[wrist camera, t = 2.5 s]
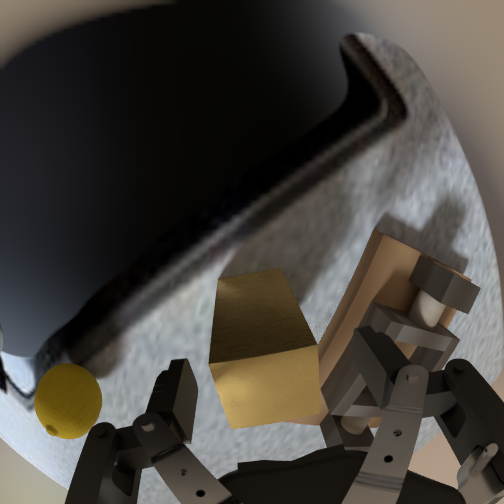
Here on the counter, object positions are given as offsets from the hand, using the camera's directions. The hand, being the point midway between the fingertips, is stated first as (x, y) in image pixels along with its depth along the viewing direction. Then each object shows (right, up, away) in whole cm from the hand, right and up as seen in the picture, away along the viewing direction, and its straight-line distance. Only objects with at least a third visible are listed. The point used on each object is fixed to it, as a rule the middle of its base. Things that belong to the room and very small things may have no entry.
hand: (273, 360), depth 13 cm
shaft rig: (+10, -3, +9) cm, 13 cm away
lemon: (-16, -6, +8) cm, 18 cm away
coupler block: (-1, +2, +7) cm, 7 cm away
